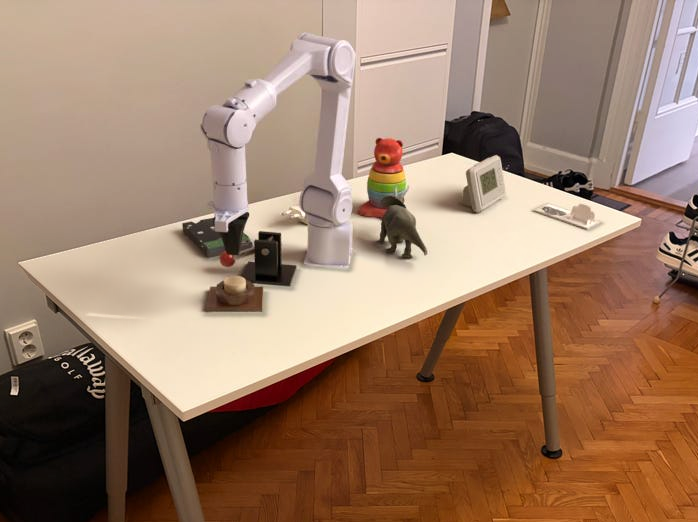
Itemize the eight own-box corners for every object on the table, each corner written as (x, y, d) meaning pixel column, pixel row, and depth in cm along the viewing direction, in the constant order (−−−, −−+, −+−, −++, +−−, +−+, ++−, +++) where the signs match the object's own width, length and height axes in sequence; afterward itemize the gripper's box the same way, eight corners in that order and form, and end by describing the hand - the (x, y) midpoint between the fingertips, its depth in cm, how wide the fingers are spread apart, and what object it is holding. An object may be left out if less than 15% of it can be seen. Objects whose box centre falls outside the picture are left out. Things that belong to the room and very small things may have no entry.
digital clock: (476, 215, 177) (482, 174, 171) (448, 204, 183) (453, 163, 177) (515, 201, 187) (522, 161, 181) (487, 191, 192) (493, 151, 186)
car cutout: (600, 222, 178) (604, 205, 176) (587, 229, 174) (591, 212, 171) (547, 204, 186) (551, 188, 184) (534, 211, 182) (537, 194, 180)
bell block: (263, 293, 139) (262, 277, 137) (262, 314, 132) (261, 297, 130) (210, 293, 138) (209, 276, 136) (207, 314, 131) (205, 297, 129)
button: (246, 284, 135) (246, 275, 134) (245, 294, 132) (245, 285, 131) (225, 284, 135) (224, 275, 134) (223, 294, 132) (223, 285, 131)
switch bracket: (239, 284, 141) (237, 243, 136) (248, 266, 148) (246, 226, 143) (290, 288, 141) (289, 247, 136) (296, 270, 148) (296, 230, 143)
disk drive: (182, 234, 159) (208, 260, 149) (180, 223, 158) (207, 248, 147) (225, 226, 164) (254, 250, 154) (224, 214, 163) (253, 238, 152)
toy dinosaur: (428, 271, 151) (434, 221, 144) (389, 273, 149) (393, 222, 143) (402, 228, 168) (406, 182, 162) (367, 230, 167) (370, 183, 160)
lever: (222, 271, 143) (214, 257, 141) (226, 264, 145) (218, 251, 144) (276, 253, 140) (269, 239, 138) (279, 247, 142) (272, 232, 141)
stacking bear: (355, 214, 174) (359, 141, 164) (371, 201, 182) (375, 130, 172) (397, 223, 171) (403, 149, 161) (411, 209, 179) (418, 137, 169)
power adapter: (293, 233, 163) (293, 208, 160) (279, 226, 165) (278, 202, 162) (328, 220, 170) (329, 197, 167) (314, 214, 172) (314, 191, 169)
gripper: (216, 164, 128) (221, 234, 135) (194, 193, 116) (200, 269, 123) (256, 167, 128) (258, 238, 135) (237, 197, 116) (241, 272, 123)
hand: (233, 253), depth 129 cm, fingers closed
